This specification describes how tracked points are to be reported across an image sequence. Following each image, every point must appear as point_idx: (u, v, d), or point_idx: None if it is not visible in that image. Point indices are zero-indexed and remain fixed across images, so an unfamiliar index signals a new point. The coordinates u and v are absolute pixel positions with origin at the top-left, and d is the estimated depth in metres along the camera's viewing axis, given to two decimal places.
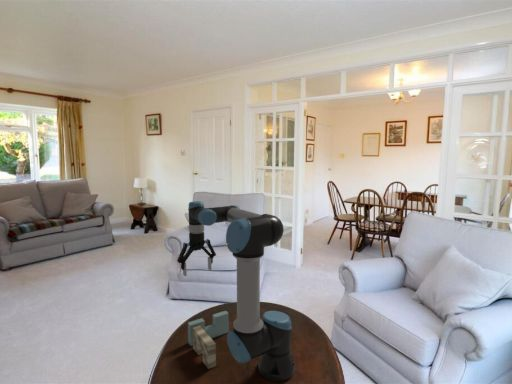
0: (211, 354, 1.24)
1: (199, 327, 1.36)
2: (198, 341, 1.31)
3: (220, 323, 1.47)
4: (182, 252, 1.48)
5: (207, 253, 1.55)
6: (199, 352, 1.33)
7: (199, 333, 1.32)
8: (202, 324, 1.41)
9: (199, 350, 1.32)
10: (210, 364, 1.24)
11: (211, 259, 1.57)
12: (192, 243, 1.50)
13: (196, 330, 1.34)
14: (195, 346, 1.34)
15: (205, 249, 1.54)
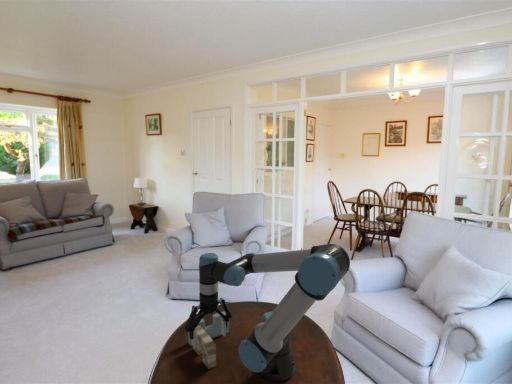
0: (211, 354, 1.24)
1: (199, 327, 1.36)
2: (198, 341, 1.31)
3: (220, 323, 1.47)
4: (191, 318, 1.19)
5: (221, 316, 1.26)
6: (199, 352, 1.33)
7: (199, 333, 1.32)
8: (202, 324, 1.41)
9: (199, 350, 1.32)
10: (210, 364, 1.24)
11: (226, 322, 1.28)
12: (203, 306, 1.21)
13: (196, 330, 1.34)
14: None
15: (219, 311, 1.25)
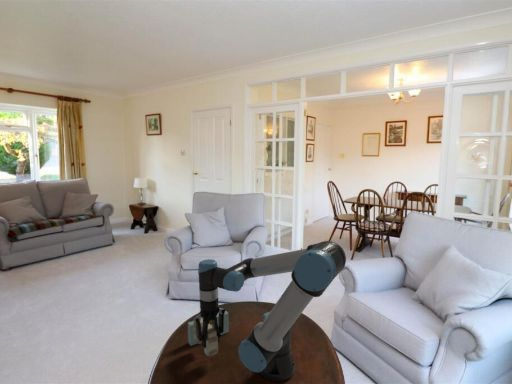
0: (212, 341, 1.23)
1: None
2: None
3: None
4: (197, 329, 1.20)
5: (215, 328, 1.24)
6: (200, 341, 1.32)
7: (200, 322, 1.31)
8: None
9: None
10: (212, 352, 1.23)
11: (217, 337, 1.26)
12: (204, 313, 1.21)
13: None
14: (196, 335, 1.33)
15: (216, 322, 1.24)
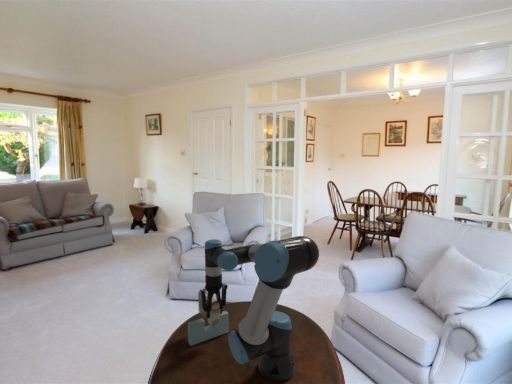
0: (215, 312, 1.37)
1: None
2: None
3: (220, 323, 1.47)
4: (203, 301, 1.34)
5: (219, 301, 1.38)
6: (204, 313, 1.46)
7: None
8: (202, 324, 1.41)
9: (204, 311, 1.46)
10: (215, 322, 1.37)
11: (220, 309, 1.40)
12: (209, 287, 1.35)
13: None
14: (200, 308, 1.48)
15: (219, 295, 1.38)
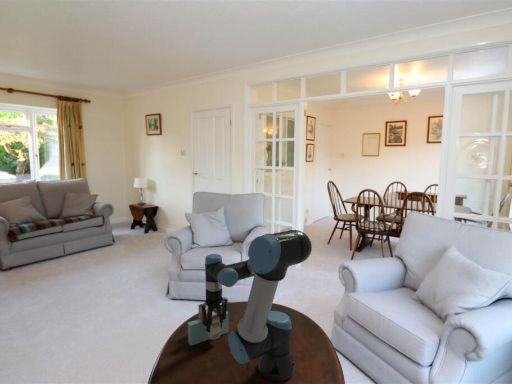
0: (215, 327, 1.38)
1: None
2: None
3: None
4: (203, 315, 1.35)
5: (219, 315, 1.39)
6: None
7: None
8: (202, 324, 1.41)
9: None
10: (215, 336, 1.38)
11: (220, 323, 1.41)
12: (209, 301, 1.36)
13: None
14: None
15: (219, 309, 1.39)
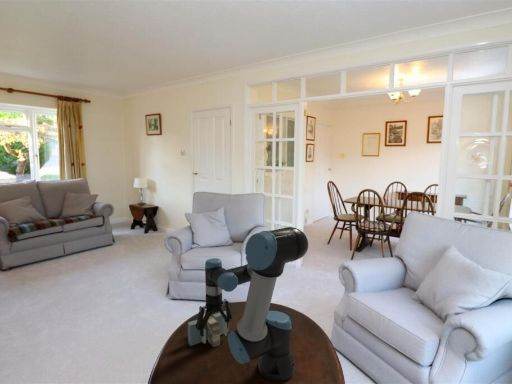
0: (216, 334, 1.38)
1: None
2: None
3: (220, 323, 1.47)
4: (200, 318, 1.34)
5: (223, 316, 1.41)
6: None
7: None
8: None
9: None
10: (215, 343, 1.38)
11: (227, 323, 1.43)
12: (209, 306, 1.36)
13: None
14: None
15: (222, 312, 1.40)
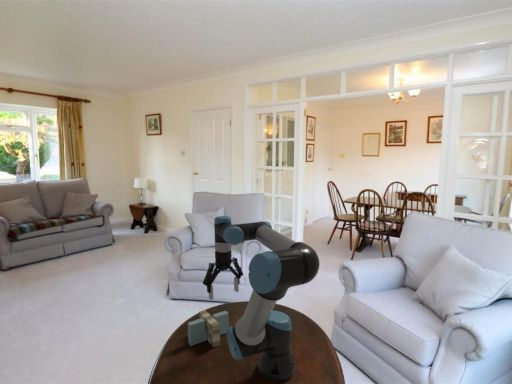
0: (216, 334, 1.38)
1: (204, 311, 1.50)
2: None
3: (220, 323, 1.47)
4: (208, 273, 1.32)
5: (234, 273, 1.40)
6: None
7: (205, 316, 1.46)
8: (202, 324, 1.41)
9: None
10: (215, 343, 1.38)
11: (238, 279, 1.43)
12: (219, 263, 1.35)
13: (202, 313, 1.48)
14: None
15: (232, 269, 1.40)
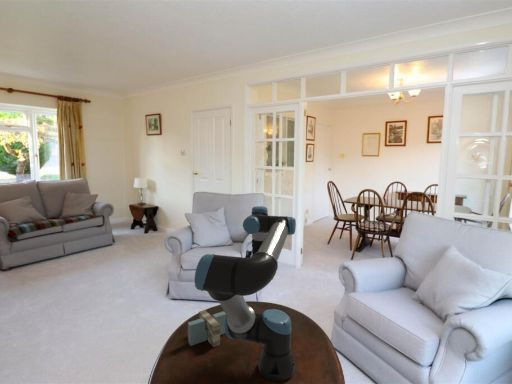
0: (216, 334, 1.38)
1: (204, 311, 1.50)
2: None
3: (220, 323, 1.47)
4: None
5: None
6: None
7: (205, 316, 1.46)
8: (202, 324, 1.41)
9: None
10: (215, 343, 1.38)
11: None
12: (256, 251, 1.41)
13: (202, 313, 1.48)
14: None
15: None
